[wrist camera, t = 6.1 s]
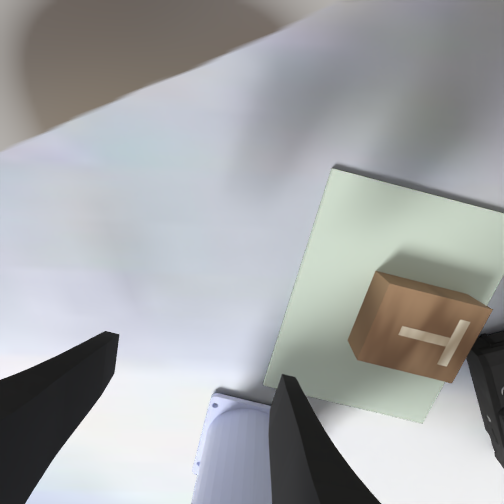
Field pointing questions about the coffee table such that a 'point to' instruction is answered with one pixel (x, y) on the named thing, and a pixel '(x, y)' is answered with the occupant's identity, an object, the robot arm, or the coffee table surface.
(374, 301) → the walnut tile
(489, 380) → the film camera
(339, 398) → the mat
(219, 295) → the coffee table surface
